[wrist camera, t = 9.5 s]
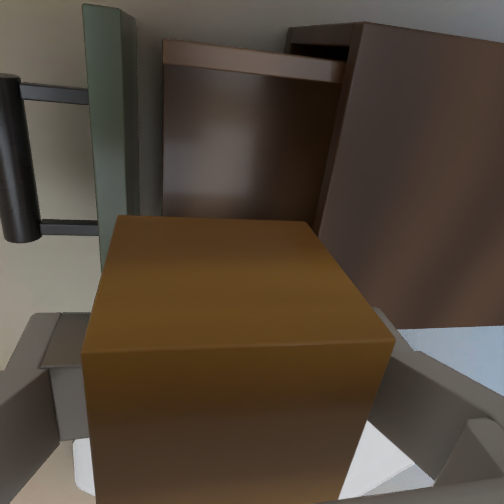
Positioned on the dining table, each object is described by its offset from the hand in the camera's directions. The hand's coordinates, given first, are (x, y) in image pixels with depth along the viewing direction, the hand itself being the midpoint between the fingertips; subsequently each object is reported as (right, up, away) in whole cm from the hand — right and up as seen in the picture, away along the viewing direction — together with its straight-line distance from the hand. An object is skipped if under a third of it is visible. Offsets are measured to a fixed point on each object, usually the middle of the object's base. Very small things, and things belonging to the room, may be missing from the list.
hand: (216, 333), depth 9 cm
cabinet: (+10, +8, +18) cm, 22 cm away
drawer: (-2, +8, +14) cm, 16 cm away
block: (0, +1, +1) cm, 2 cm away
